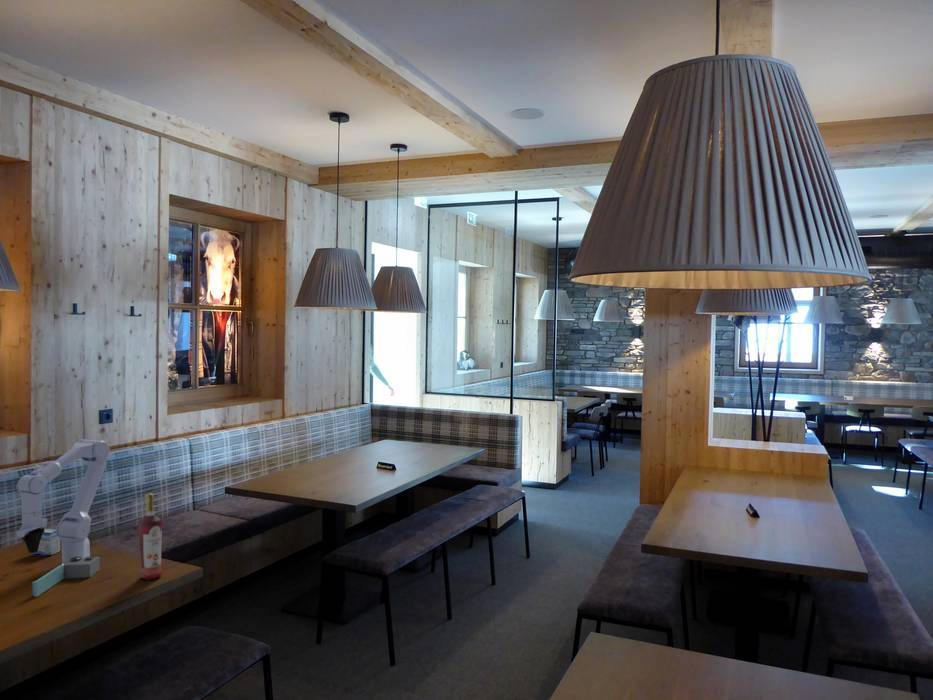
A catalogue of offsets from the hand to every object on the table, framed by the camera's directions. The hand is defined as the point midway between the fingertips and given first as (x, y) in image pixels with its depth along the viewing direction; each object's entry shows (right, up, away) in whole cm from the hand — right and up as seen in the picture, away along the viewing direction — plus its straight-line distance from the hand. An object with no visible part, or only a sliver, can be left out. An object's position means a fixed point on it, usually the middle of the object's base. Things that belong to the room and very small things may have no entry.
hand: (33, 552), depth 224 cm
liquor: (+38, -9, +2) cm, 39 cm away
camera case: (+13, -9, +6) cm, 17 cm away
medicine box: (-12, -9, +27) cm, 30 cm away
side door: (+9, -9, -6) cm, 14 cm away
